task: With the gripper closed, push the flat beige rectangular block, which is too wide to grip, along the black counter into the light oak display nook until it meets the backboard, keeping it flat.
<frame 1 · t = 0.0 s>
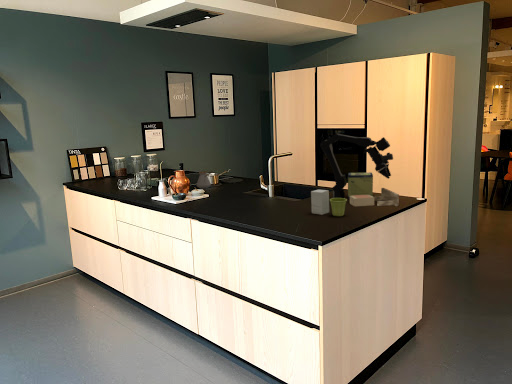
hand: (389, 177, 254), 15 cm above the counter, tool tilted 35°, fingers open, 9 cm apart
coffee pot: (207, 188, 332), on the counter
supplement box: (320, 213, 236), on the counter
plant pot: (338, 215, 229), on the counter
beige rectangular block: (361, 204, 252), on the counter
display nook: (380, 202, 253), on the counter
protein box: (360, 197, 272), on the counter
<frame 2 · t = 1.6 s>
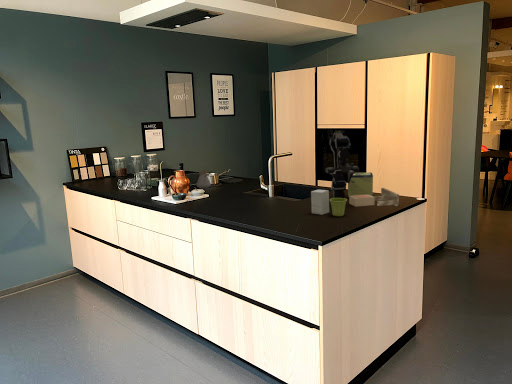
hand: (342, 184, 249), 13 cm above the counter, tool pointing down, fingers open, 7 cm apart
nothing on the counter moved.
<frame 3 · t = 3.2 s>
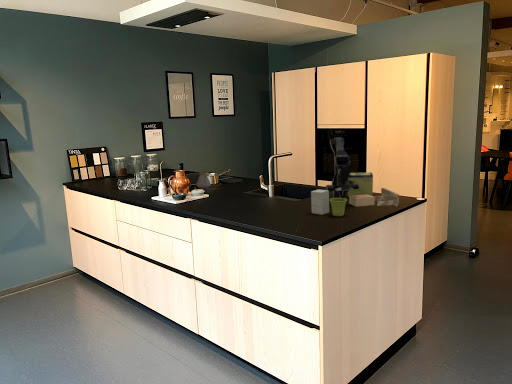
hand: (342, 201, 251), 3 cm above the counter, tool pointing down, fingers closed
nothing on the counter moved.
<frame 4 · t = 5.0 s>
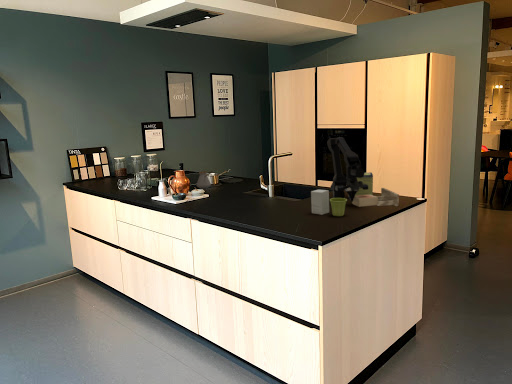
hand: (351, 201, 251), 2 cm above the counter, tool pointing down, fingers closed
beige rectangular block: (364, 204, 252), on the counter
everything else where it was.
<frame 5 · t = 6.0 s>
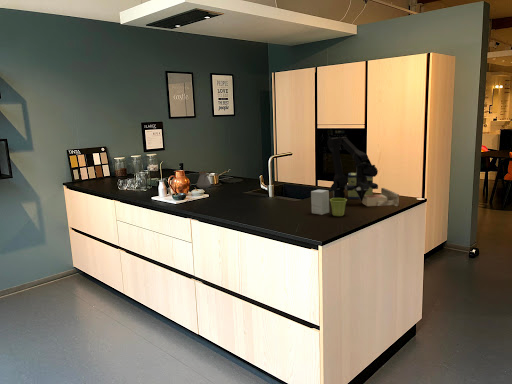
hand: (361, 200, 252), 2 cm above the counter, tool pointing down, fingers closed
beige rectangular block: (374, 204, 251), on the counter
everything else where it was.
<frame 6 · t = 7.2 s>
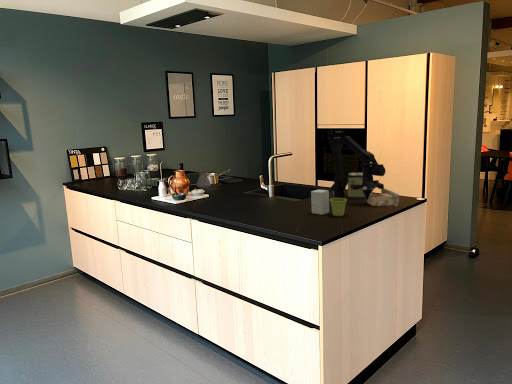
hand: (366, 200, 252), 2 cm above the counter, tool pointing down, fingers closed
beige rectangular block: (379, 203, 252), on the counter, touching display nook, gripper
everything else where it was.
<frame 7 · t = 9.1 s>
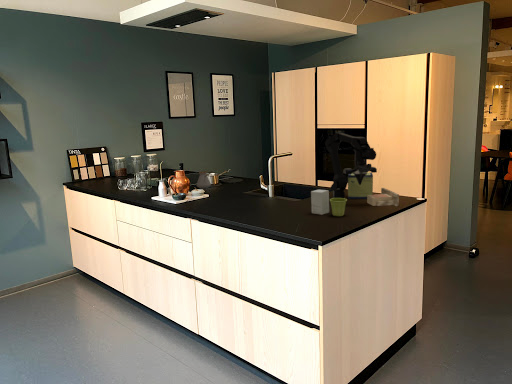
hand: (359, 184, 250), 12 cm above the counter, tool pointing down, fingers closed
beige rectangular block: (379, 204, 252), on the counter
everything else where it was.
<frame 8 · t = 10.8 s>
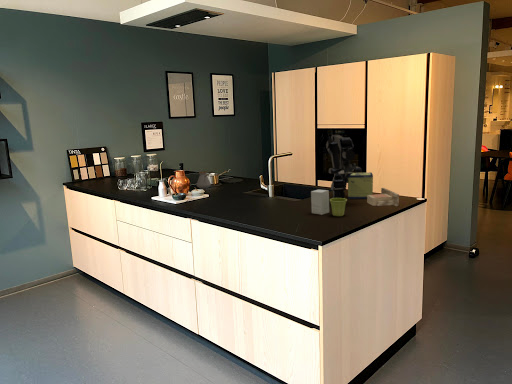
hand: (345, 184, 253), 12 cm above the counter, tool pointing down, fingers closed
nothing on the counter moved.
at the end: beige rectangular block 1.5 cm from the target spot, on the counter; beige rectangular block tilted 0°; beige rectangular block moved 10.6 cm from its start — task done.
